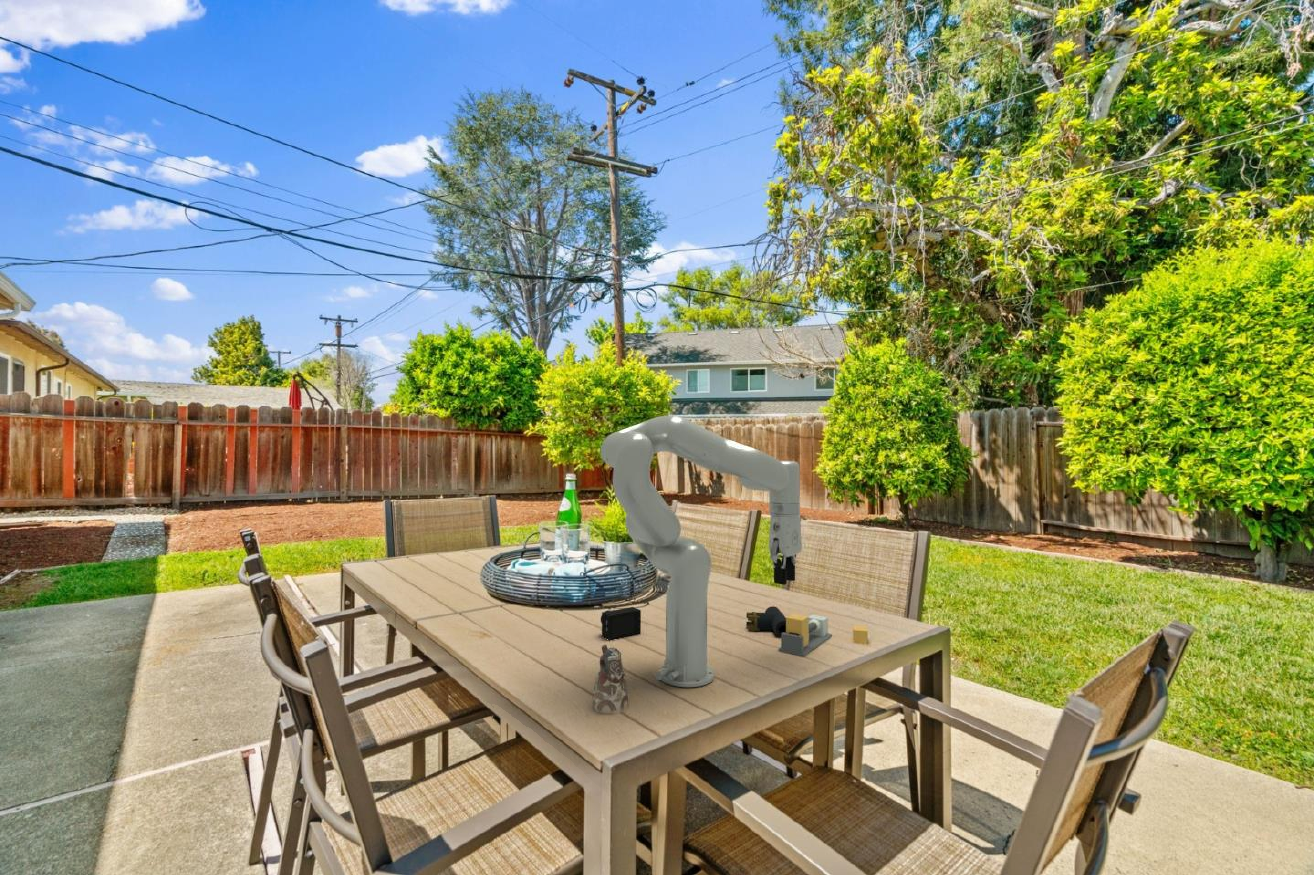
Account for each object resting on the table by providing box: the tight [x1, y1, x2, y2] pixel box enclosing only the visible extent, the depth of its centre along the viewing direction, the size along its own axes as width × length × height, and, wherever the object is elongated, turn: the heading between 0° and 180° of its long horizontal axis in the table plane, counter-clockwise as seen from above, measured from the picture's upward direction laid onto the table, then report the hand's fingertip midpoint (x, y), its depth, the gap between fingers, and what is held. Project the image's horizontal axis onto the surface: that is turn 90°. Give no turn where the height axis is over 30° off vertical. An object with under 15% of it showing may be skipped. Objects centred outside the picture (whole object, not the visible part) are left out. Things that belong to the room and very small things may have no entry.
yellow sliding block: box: [785, 613, 809, 647], centre depth 153 cm, size 4×4×7 cm
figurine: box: [592, 644, 630, 715], centre depth 119 cm, size 7×7×12 cm
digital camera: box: [600, 606, 642, 642], centre depth 165 cm, size 10×5×7 cm, turn 125°
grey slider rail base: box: [778, 614, 833, 658], centre depth 158 cm, size 20×7×5 cm, turn 143°
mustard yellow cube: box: [852, 625, 869, 644], centre depth 160 cm, size 4×4×4 cm
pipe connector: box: [745, 605, 787, 639], centre depth 170 cm, size 12×5×15 cm
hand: (784, 581), depth 147 cm, fingers open, 4 cm apart
